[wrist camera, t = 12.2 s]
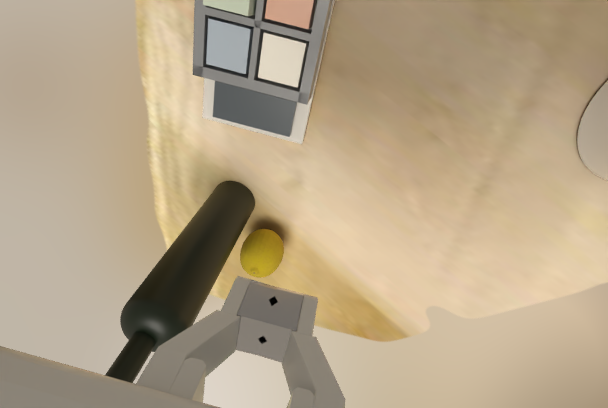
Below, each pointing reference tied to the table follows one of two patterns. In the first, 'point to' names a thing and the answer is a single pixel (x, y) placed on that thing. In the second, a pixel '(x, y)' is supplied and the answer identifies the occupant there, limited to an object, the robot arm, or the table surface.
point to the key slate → (229, 45)
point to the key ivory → (282, 58)
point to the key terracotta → (291, 12)
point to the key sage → (234, 6)
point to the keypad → (256, 91)
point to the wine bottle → (182, 278)
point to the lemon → (261, 253)
